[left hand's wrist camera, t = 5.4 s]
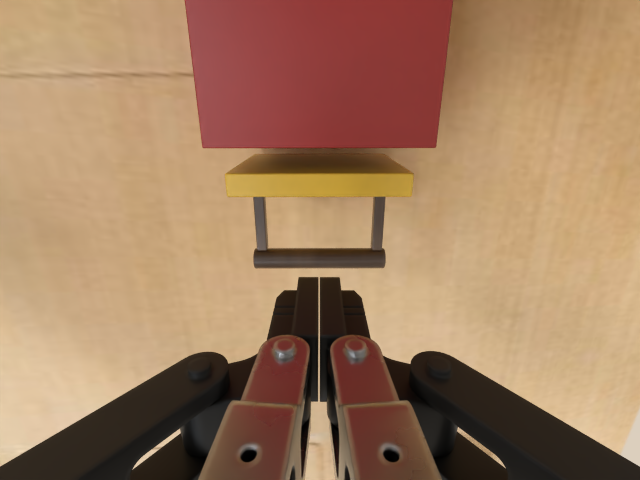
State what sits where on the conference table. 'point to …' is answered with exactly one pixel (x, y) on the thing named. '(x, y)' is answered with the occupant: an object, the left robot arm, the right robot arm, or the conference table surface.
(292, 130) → the cabinet
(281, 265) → the drawer
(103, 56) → the conference table surface
